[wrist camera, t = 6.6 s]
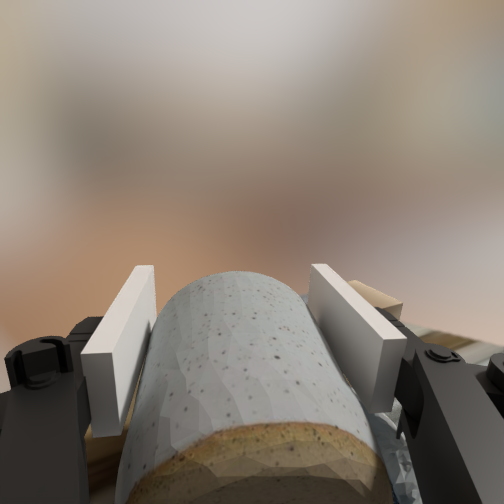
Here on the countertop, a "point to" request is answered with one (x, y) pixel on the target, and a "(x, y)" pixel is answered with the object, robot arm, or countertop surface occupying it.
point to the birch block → (378, 298)
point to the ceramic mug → (253, 408)
